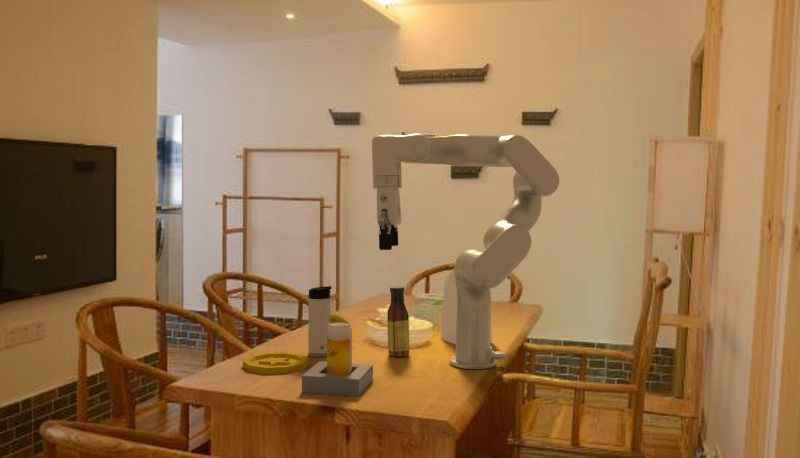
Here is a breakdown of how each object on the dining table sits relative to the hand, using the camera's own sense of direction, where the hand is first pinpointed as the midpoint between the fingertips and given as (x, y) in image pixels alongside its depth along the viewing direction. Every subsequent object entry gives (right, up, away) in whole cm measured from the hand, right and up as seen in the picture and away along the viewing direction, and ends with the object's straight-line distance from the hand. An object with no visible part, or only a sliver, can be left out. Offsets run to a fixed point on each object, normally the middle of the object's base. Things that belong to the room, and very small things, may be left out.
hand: (389, 247), depth 192 cm
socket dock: (-12, -34, -13) cm, 38 cm away
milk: (+24, -31, +39) cm, 55 cm away
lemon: (-18, -30, +38) cm, 52 cm away
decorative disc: (-31, -33, +6) cm, 45 cm away
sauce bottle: (+2, -32, +19) cm, 37 cm away
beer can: (-12, -34, -13) cm, 38 cm away
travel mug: (-20, -32, +18) cm, 42 cm away
